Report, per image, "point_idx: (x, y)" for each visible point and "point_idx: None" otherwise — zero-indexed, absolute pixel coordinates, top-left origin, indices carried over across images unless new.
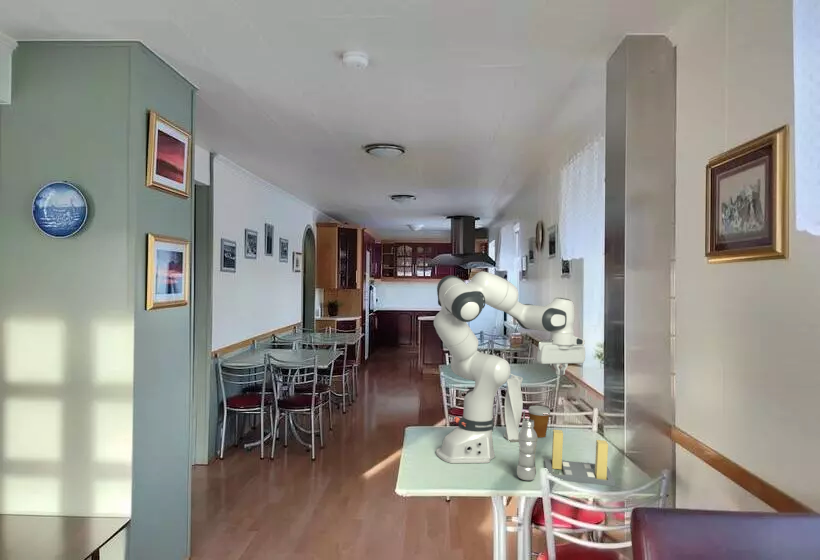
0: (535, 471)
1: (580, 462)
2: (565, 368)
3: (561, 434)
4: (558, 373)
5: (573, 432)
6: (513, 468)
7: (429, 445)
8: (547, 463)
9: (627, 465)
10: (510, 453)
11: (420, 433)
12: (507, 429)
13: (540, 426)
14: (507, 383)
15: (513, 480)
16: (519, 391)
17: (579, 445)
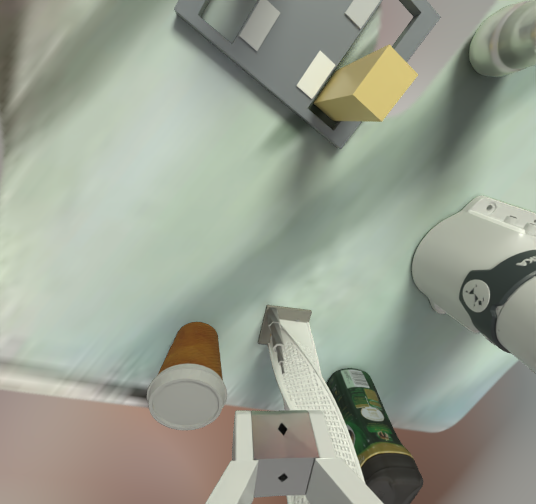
0: (506, 8)
1: (253, 72)
2: (228, 491)
3: (391, 51)
4: (325, 421)
5: (67, 339)
6: (452, 138)
7: None
8: None
9: (65, 14)
10: (371, 240)
11: (460, 398)
12: (313, 346)
13: (203, 342)
14: None
15: None
16: None
17: (122, 241)
